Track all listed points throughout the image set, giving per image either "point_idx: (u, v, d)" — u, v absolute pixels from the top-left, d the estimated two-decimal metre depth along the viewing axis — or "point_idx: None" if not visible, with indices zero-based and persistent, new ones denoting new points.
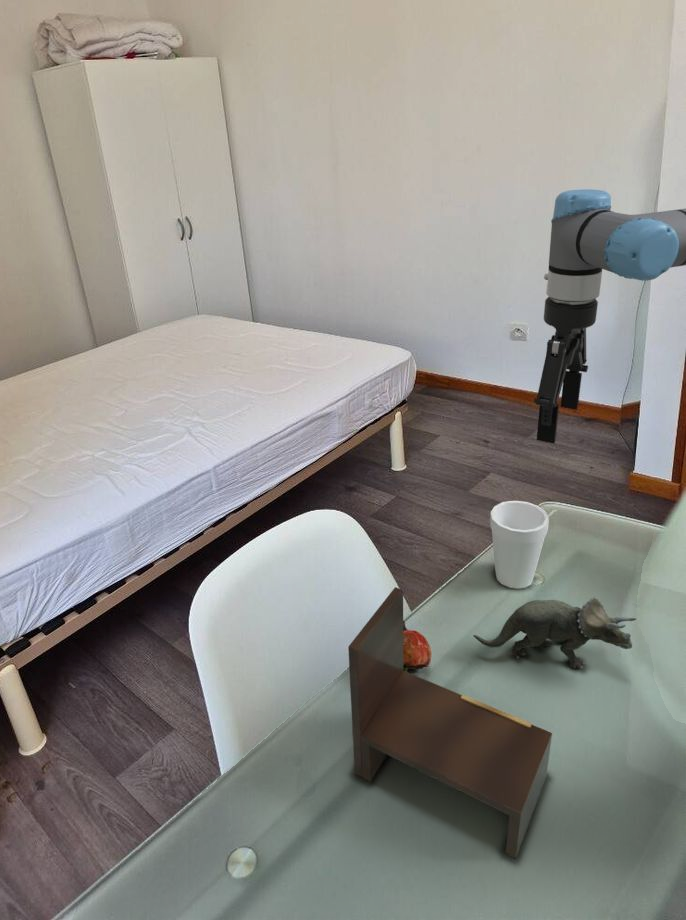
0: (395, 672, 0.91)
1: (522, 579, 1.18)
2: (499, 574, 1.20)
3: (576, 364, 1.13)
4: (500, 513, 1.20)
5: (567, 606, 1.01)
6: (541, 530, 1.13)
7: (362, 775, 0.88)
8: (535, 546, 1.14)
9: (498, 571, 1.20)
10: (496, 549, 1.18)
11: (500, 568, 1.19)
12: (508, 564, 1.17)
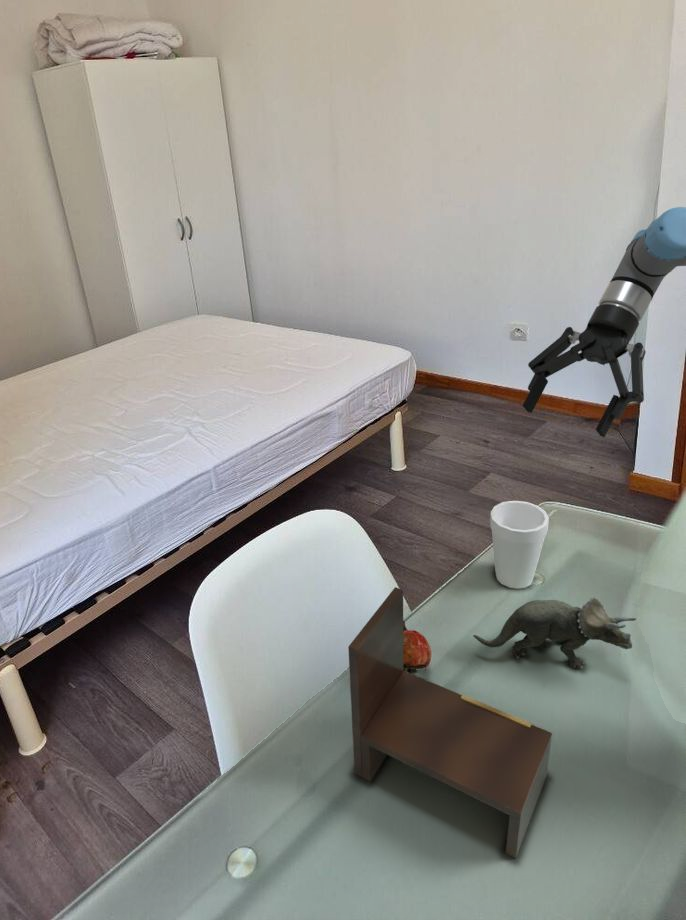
0: (395, 672, 0.91)
1: (522, 579, 1.18)
2: (499, 574, 1.20)
3: (617, 386, 1.12)
4: (500, 513, 1.20)
5: (567, 606, 1.01)
6: (541, 530, 1.13)
7: (362, 775, 0.88)
8: (535, 546, 1.14)
9: (498, 571, 1.20)
10: (496, 549, 1.18)
11: (500, 568, 1.19)
12: (508, 564, 1.17)
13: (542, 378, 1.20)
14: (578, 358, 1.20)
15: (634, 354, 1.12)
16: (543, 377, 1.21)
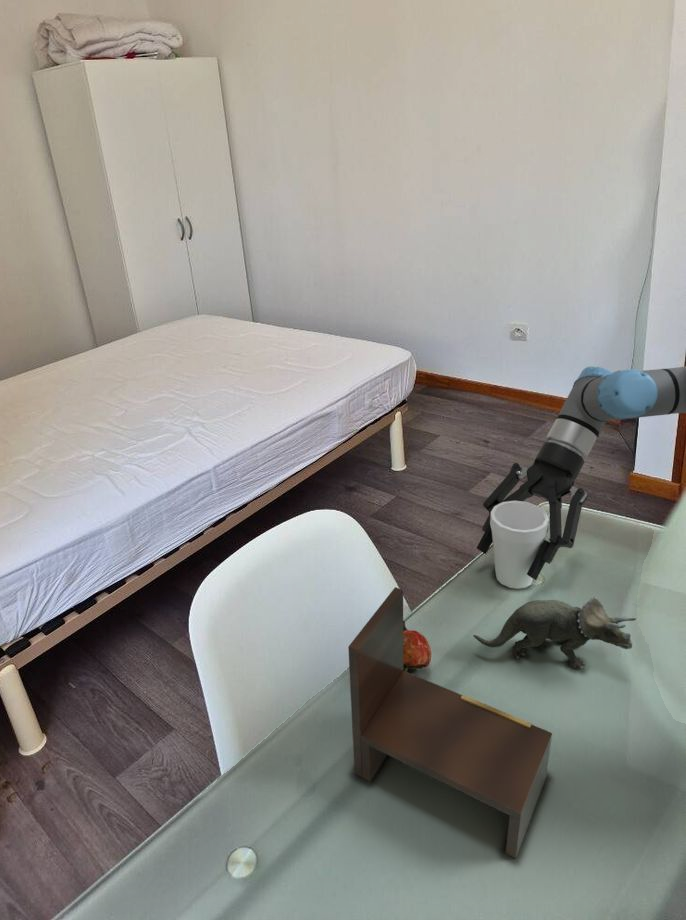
0: (395, 672, 0.91)
1: (522, 579, 1.18)
2: (499, 574, 1.20)
3: None
4: (500, 513, 1.20)
5: (567, 606, 1.01)
6: (541, 531, 1.13)
7: (362, 775, 0.88)
8: (535, 546, 1.14)
9: (498, 571, 1.20)
10: (496, 549, 1.18)
11: (500, 568, 1.19)
12: (508, 564, 1.17)
13: None
14: (528, 495, 1.21)
15: (574, 499, 1.14)
16: None
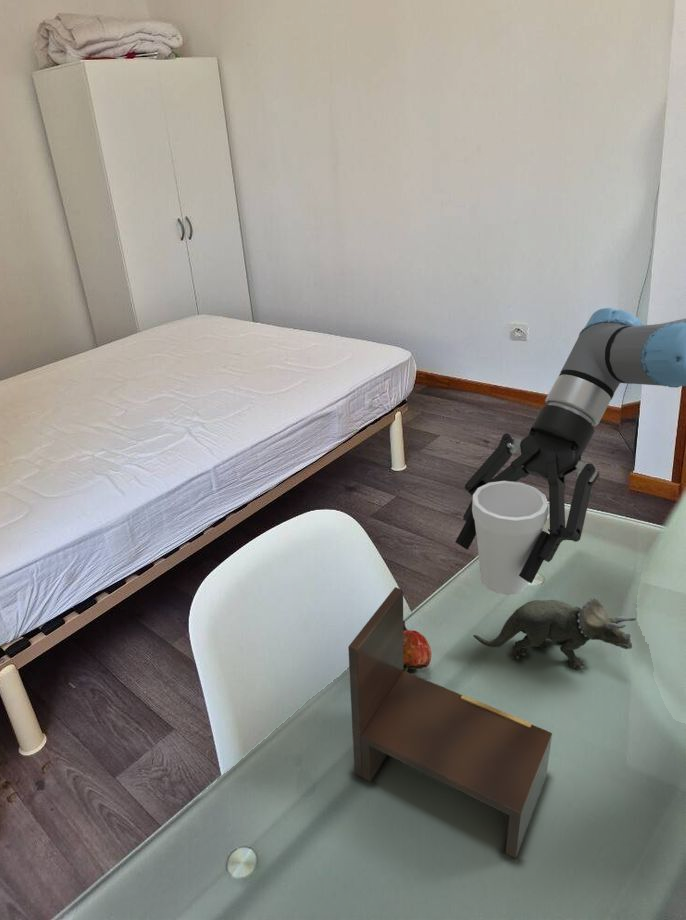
0: (395, 672, 0.91)
1: (514, 582, 0.91)
2: (484, 576, 0.93)
3: None
4: (485, 497, 0.93)
5: (567, 606, 1.01)
6: (538, 518, 0.86)
7: (362, 775, 0.88)
8: (530, 540, 0.87)
9: (483, 572, 0.93)
10: (480, 543, 0.91)
11: (485, 567, 0.92)
12: (495, 563, 0.90)
13: None
14: (523, 474, 0.94)
15: (581, 478, 0.87)
16: None
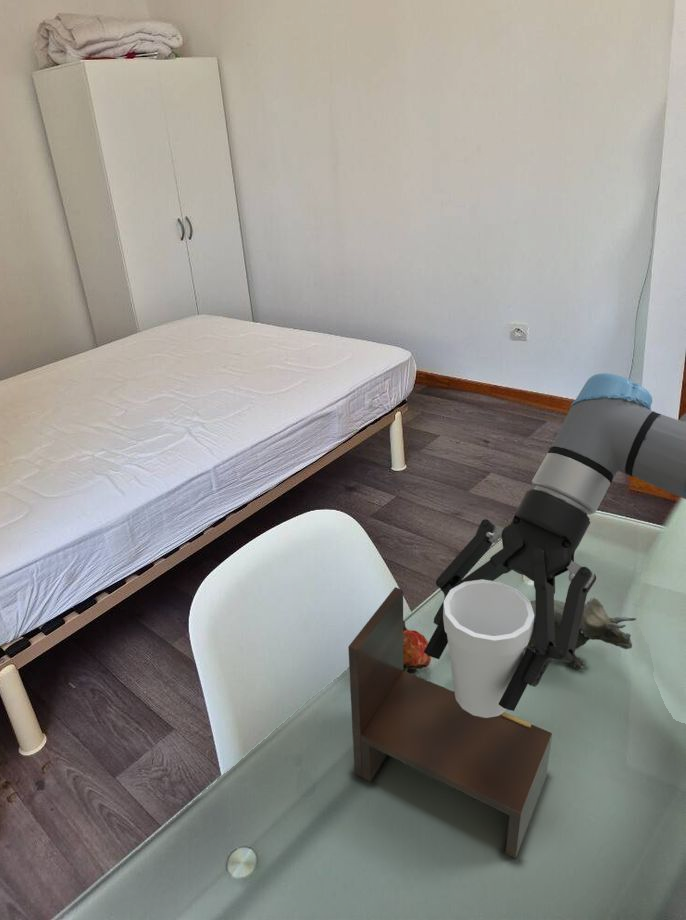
0: (395, 672, 0.91)
1: (493, 705, 0.75)
2: (458, 694, 0.77)
3: None
4: (460, 600, 0.77)
5: None
6: (521, 636, 0.70)
7: (362, 775, 0.88)
8: (512, 660, 0.72)
9: (457, 689, 0.77)
10: (452, 658, 0.75)
11: (459, 686, 0.76)
12: (470, 683, 0.74)
13: None
14: (504, 570, 0.79)
15: (574, 585, 0.72)
16: None
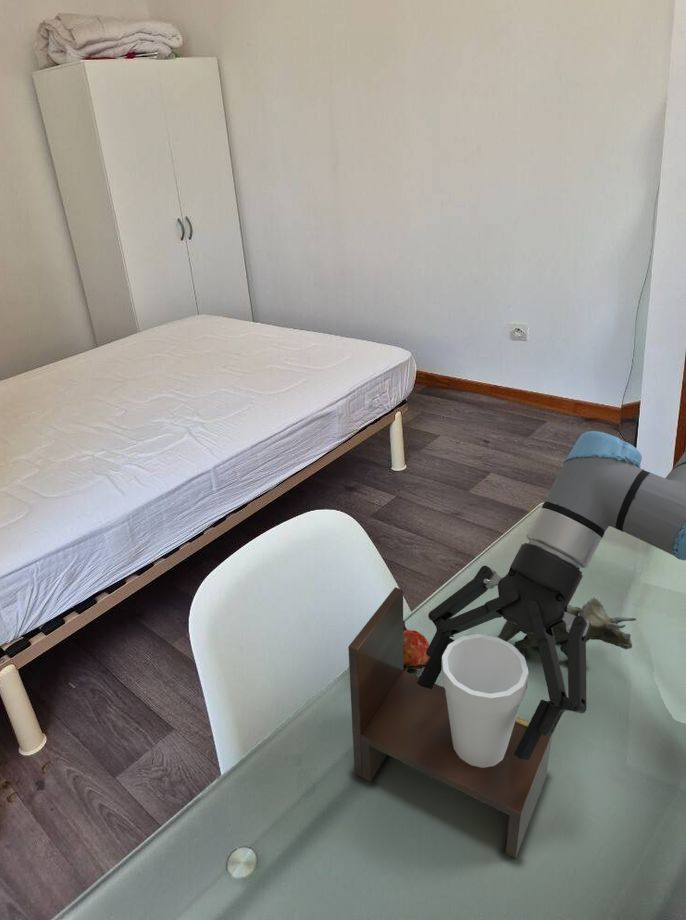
0: (395, 672, 0.91)
1: (489, 756, 0.79)
2: (456, 744, 0.81)
3: None
4: (457, 654, 0.81)
5: None
6: (516, 694, 0.74)
7: (362, 775, 0.88)
8: (507, 715, 0.75)
9: (454, 740, 0.81)
10: (450, 711, 0.79)
11: (456, 737, 0.80)
12: (468, 736, 0.78)
13: (446, 642, 0.83)
14: (497, 615, 0.82)
15: (573, 635, 0.75)
16: (447, 640, 0.83)
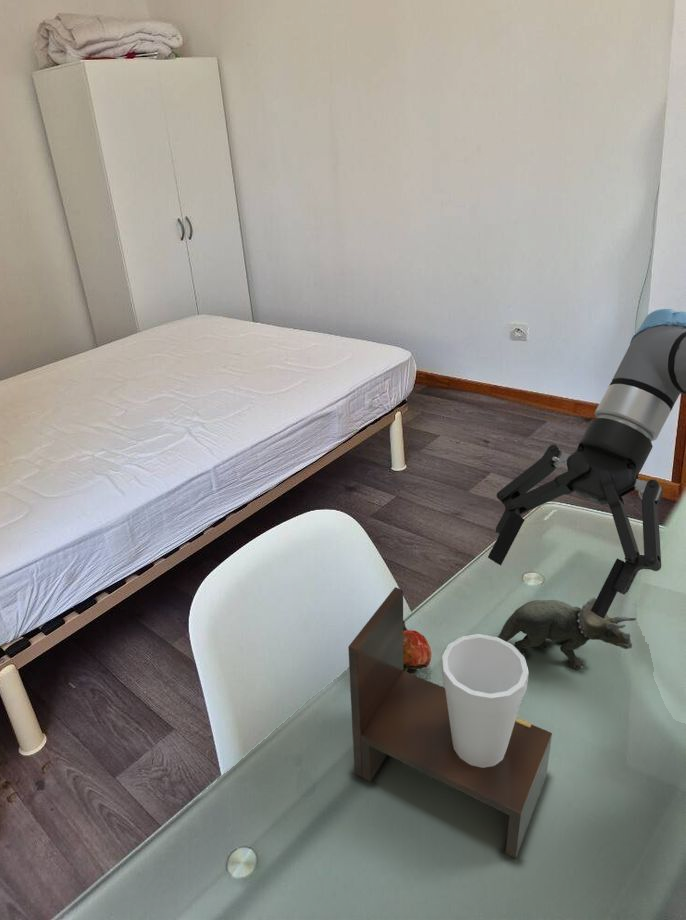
0: (395, 672, 0.91)
1: (489, 756, 0.79)
2: (456, 744, 0.81)
3: None
4: (457, 654, 0.81)
5: (567, 606, 1.01)
6: (516, 694, 0.74)
7: (362, 775, 0.88)
8: (507, 715, 0.75)
9: (454, 740, 0.81)
10: (450, 711, 0.79)
11: (456, 737, 0.80)
12: (468, 736, 0.78)
13: (515, 518, 0.85)
14: (566, 491, 0.85)
15: (646, 497, 0.77)
16: (517, 516, 0.85)
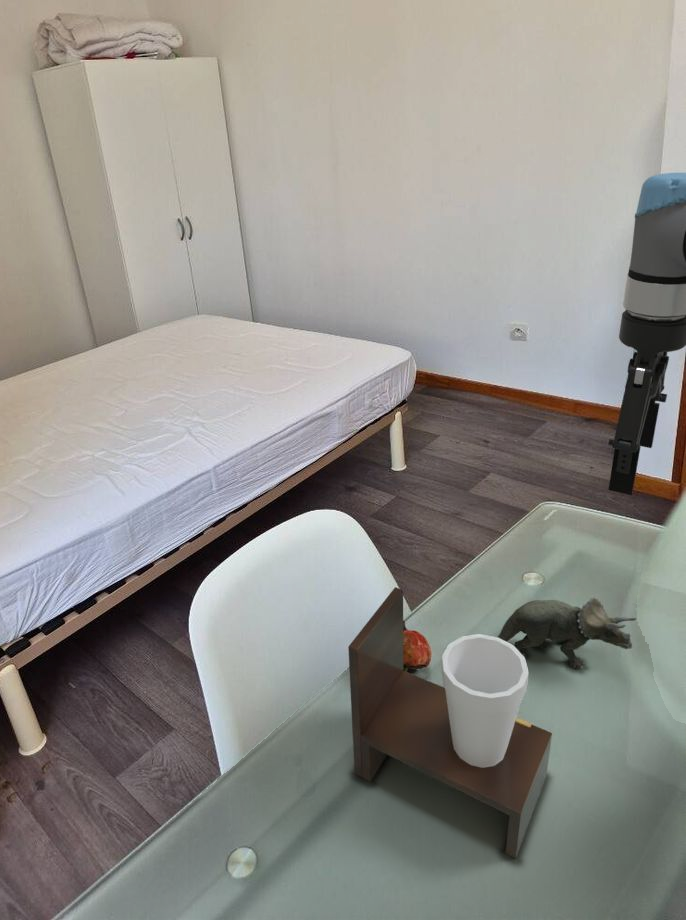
0: (395, 672, 0.91)
1: (489, 756, 0.79)
2: (456, 744, 0.81)
3: None
4: (457, 654, 0.81)
5: (567, 606, 1.01)
6: (516, 694, 0.74)
7: (362, 775, 0.88)
8: (507, 715, 0.75)
9: (454, 740, 0.81)
10: (450, 711, 0.79)
11: (456, 737, 0.80)
12: (468, 736, 0.78)
13: None
14: None
15: None
16: None
